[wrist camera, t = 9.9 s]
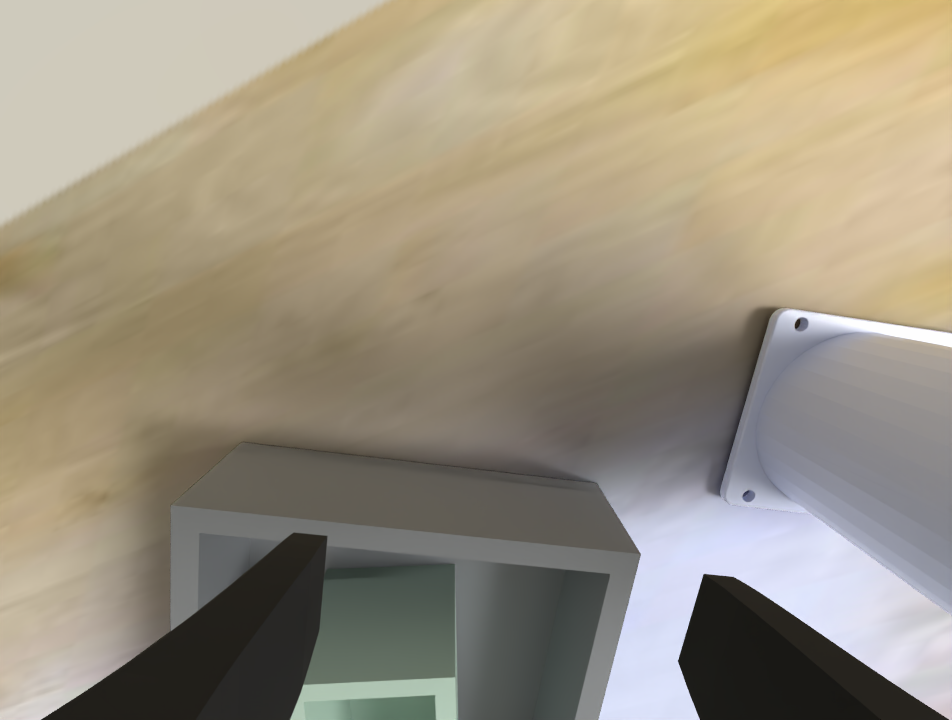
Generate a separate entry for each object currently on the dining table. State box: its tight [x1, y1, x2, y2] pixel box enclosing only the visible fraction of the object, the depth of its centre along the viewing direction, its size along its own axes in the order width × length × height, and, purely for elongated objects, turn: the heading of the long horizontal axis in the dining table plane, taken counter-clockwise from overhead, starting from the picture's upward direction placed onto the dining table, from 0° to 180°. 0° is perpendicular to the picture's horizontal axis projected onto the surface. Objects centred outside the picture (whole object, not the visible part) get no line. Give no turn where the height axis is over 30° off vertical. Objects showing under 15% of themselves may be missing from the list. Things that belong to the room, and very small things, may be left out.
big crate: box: [170, 442, 641, 720], centre depth 18 cm, size 14×18×4 cm
